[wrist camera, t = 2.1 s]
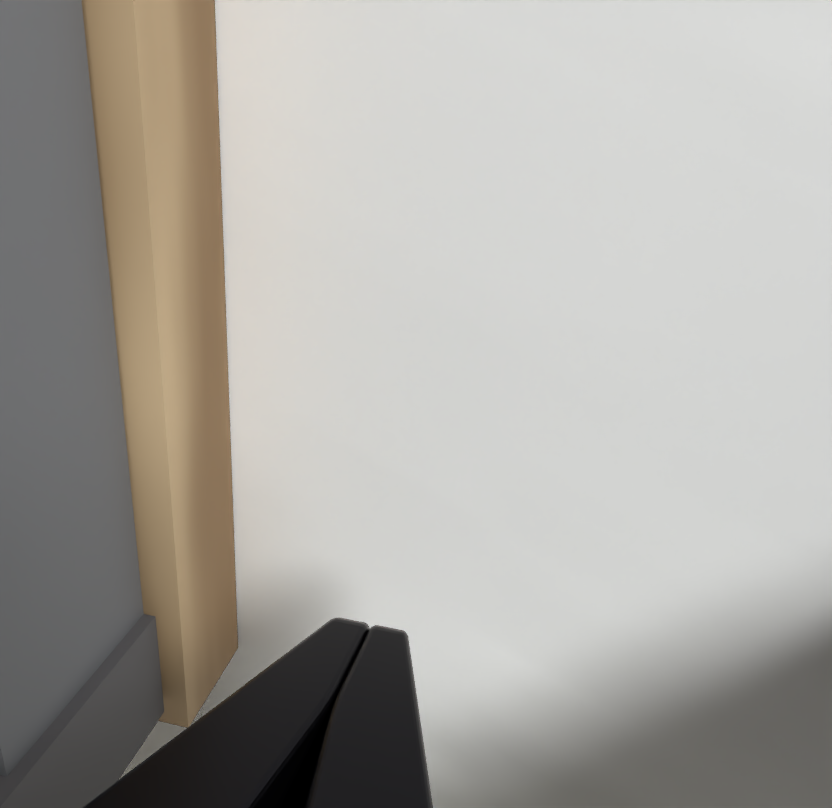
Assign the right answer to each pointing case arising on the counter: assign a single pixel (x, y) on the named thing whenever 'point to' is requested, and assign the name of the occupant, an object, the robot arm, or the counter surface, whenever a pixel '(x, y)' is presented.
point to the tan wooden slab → (170, 322)
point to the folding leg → (62, 441)
